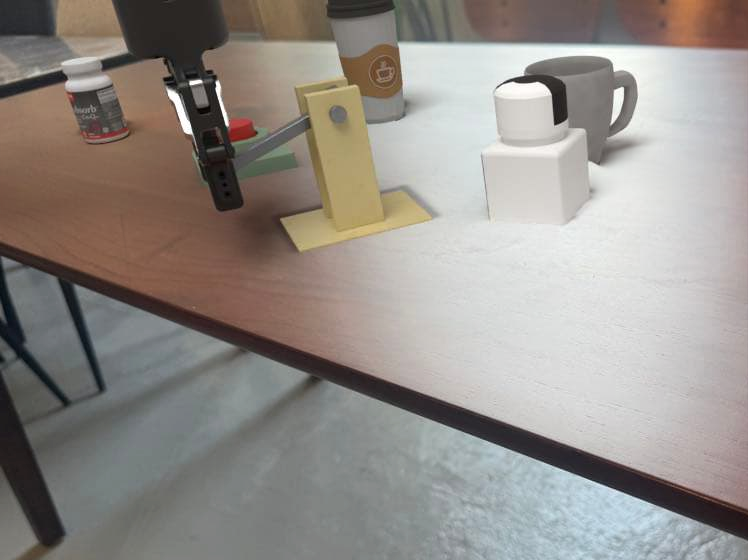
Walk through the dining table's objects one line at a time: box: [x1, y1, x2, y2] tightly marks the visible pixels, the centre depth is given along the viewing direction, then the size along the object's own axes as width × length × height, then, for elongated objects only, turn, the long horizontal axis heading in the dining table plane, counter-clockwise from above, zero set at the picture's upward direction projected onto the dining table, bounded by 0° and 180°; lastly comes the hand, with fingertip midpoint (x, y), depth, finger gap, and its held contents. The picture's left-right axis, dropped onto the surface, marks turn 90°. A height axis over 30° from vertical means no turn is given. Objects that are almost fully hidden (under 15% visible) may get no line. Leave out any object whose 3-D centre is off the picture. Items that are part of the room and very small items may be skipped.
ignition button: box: [219, 117, 256, 142], centre depth 95 cm, size 4×4×2 cm
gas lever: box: [232, 85, 338, 172], centre depth 72 cm, size 13×5×2 cm, turn 115°
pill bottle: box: [60, 56, 130, 144], centre depth 113 cm, size 6×6×10 cm
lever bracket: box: [279, 75, 433, 254], centre depth 75 cm, size 12×9×13 cm
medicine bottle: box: [480, 75, 591, 227], centre depth 74 cm, size 7×7×12 cm
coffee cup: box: [325, 0, 406, 125], centre depth 107 cm, size 8×8×15 cm
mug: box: [523, 55, 639, 165], centre depth 87 cm, size 12×9×10 cm
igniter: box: [190, 126, 298, 188], centre depth 96 cm, size 10×9×4 cm
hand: (223, 193), depth 72 cm, fingers open, 8 cm apart
